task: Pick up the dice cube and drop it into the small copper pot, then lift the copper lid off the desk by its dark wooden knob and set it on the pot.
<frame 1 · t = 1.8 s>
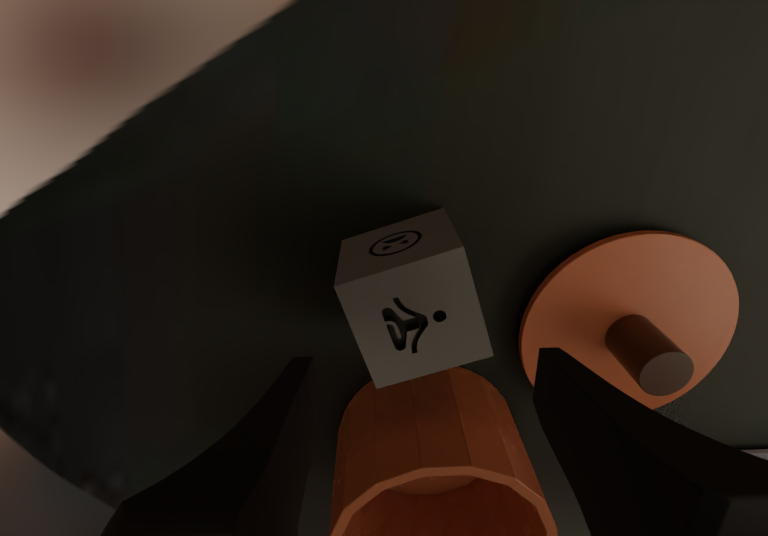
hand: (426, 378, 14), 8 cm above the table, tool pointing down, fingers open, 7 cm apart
dice cube: (407, 268, 22), on the table
lid: (623, 329, 23), point 1 cm above the table
pot: (425, 433, 26), on the table
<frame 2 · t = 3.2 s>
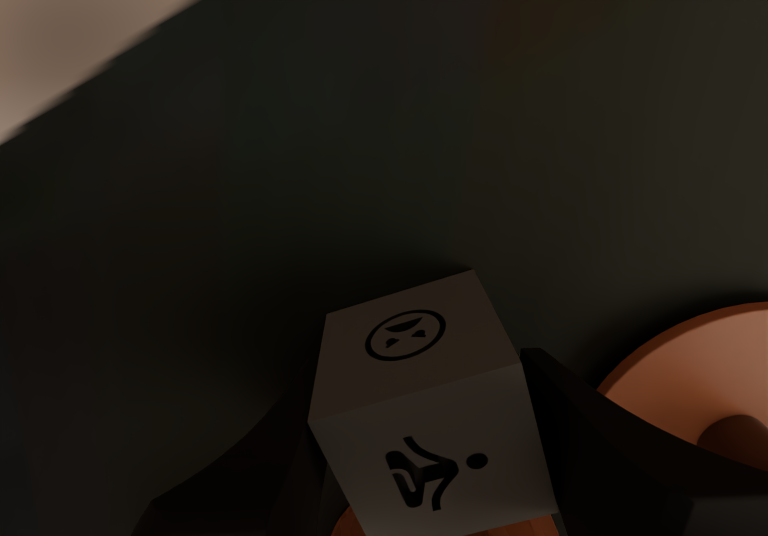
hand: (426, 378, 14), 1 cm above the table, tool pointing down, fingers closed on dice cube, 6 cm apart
dice cube: (419, 349, 16), on the table, touching gripper
lid: (719, 430, 17), point 1 cm above the table
when the fingers open (5 cm above the table, at t = 24.4 s): dice cube drops 4 cm, resting on pot.
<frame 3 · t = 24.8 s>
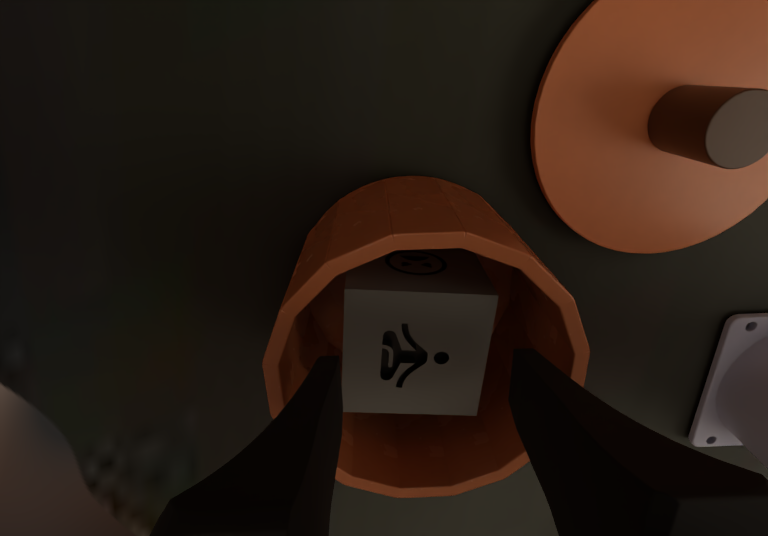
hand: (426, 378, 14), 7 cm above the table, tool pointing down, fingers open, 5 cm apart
dice cube: (404, 289, 20), resting on pot
lid: (671, 118, 17), point 1 cm above the table
pot: (409, 285, 20), on the table
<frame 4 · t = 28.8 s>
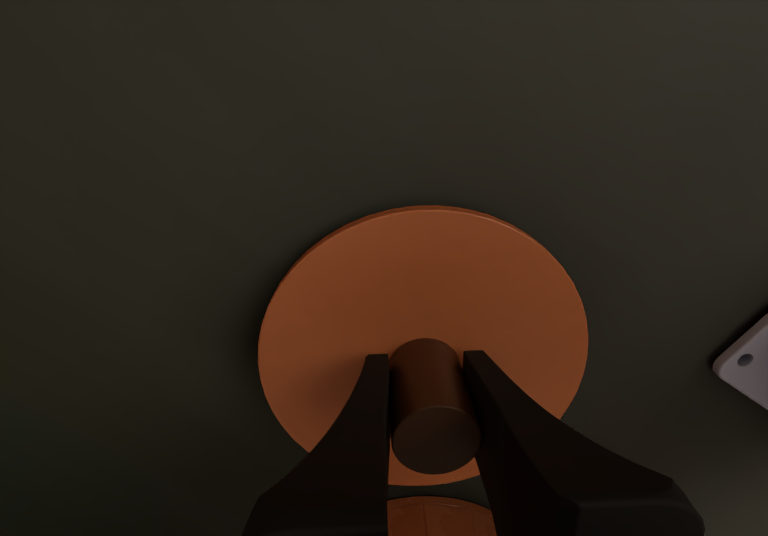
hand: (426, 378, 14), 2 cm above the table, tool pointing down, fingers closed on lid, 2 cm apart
lid: (422, 359, 15), point 1 cm above the table, touching gripper
when the fingers open (8 cm above the table, at t = 32.0 s): lid stays where it is, resting on pot.
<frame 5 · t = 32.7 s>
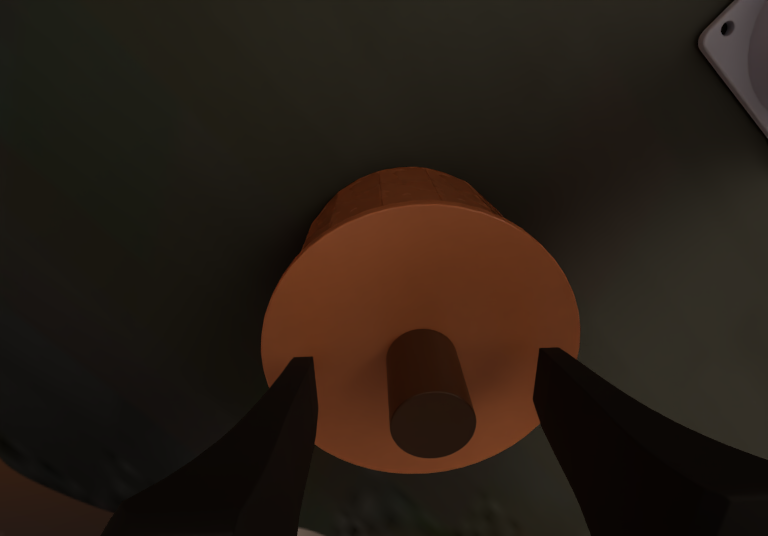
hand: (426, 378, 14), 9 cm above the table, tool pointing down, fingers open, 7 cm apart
lid: (419, 350, 16), point 7 cm above the table, touching pot
pot: (406, 268, 22), on the table
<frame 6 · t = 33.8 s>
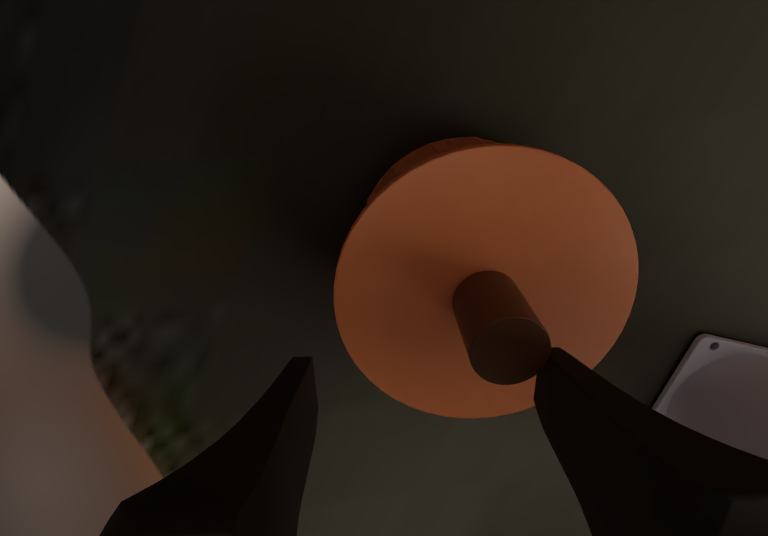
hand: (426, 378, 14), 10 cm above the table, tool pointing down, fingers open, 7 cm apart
lid: (482, 294, 17), point 7 cm above the table, touching gripper, pot
pot: (457, 237, 23), on the table
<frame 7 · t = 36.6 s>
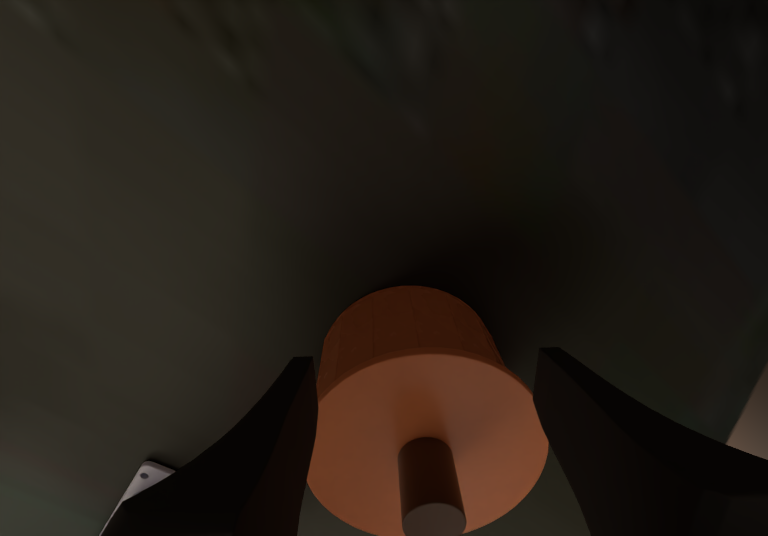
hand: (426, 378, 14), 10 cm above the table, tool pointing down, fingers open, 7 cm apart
lid: (423, 448, 20), point 7 cm above the table, touching pot
pot: (407, 361, 27), on the table
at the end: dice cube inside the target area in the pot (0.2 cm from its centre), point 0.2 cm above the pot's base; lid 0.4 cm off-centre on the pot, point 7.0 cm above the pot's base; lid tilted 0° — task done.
